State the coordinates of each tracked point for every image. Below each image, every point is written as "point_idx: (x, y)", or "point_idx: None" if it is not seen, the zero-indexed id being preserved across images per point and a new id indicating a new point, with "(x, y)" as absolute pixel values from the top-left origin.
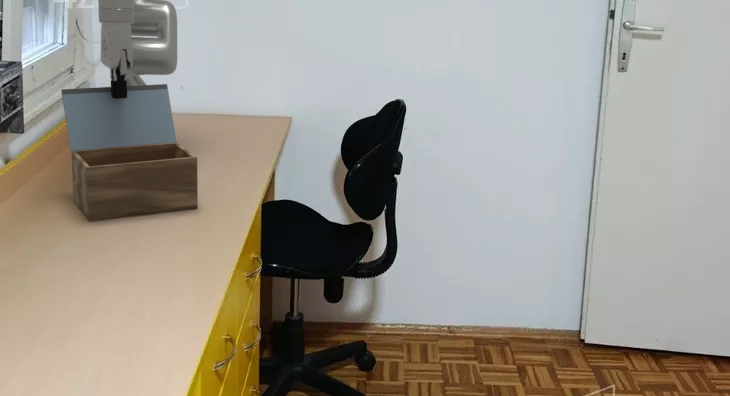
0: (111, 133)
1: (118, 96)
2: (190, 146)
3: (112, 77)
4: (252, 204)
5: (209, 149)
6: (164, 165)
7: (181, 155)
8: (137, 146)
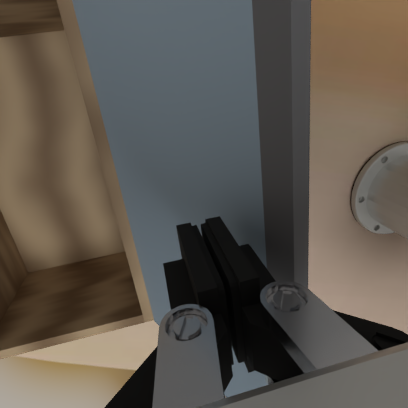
0: (132, 154)
1: (182, 257)
2: (404, 284)
3: (263, 308)
4: (46, 358)
5: (375, 310)
6: None
7: (84, 316)
8: (117, 222)
